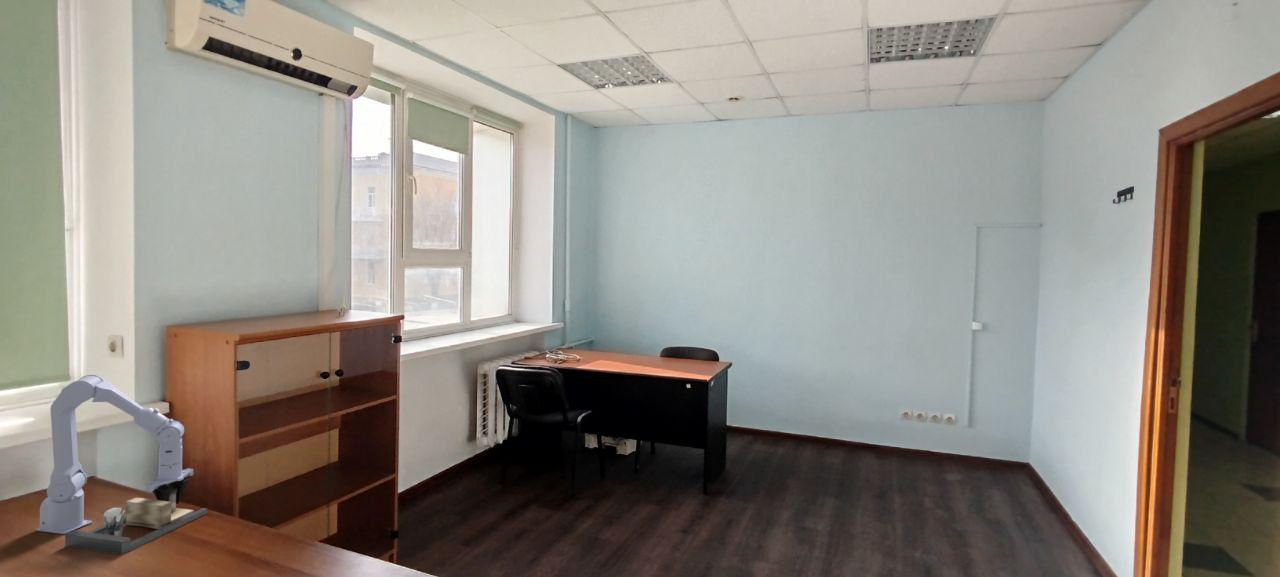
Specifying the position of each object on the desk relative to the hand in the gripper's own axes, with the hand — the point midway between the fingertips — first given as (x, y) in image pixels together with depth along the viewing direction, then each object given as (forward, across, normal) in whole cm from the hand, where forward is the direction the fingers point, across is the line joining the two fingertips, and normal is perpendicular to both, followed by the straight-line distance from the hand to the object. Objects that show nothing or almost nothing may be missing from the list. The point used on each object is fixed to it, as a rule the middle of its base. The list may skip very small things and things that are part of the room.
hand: (169, 505), depth 188 cm
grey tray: (+3, -10, 0) cm, 10 cm away
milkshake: (+3, -17, 0) cm, 17 cm away
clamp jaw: (+3, -4, 0) cm, 5 cm away
